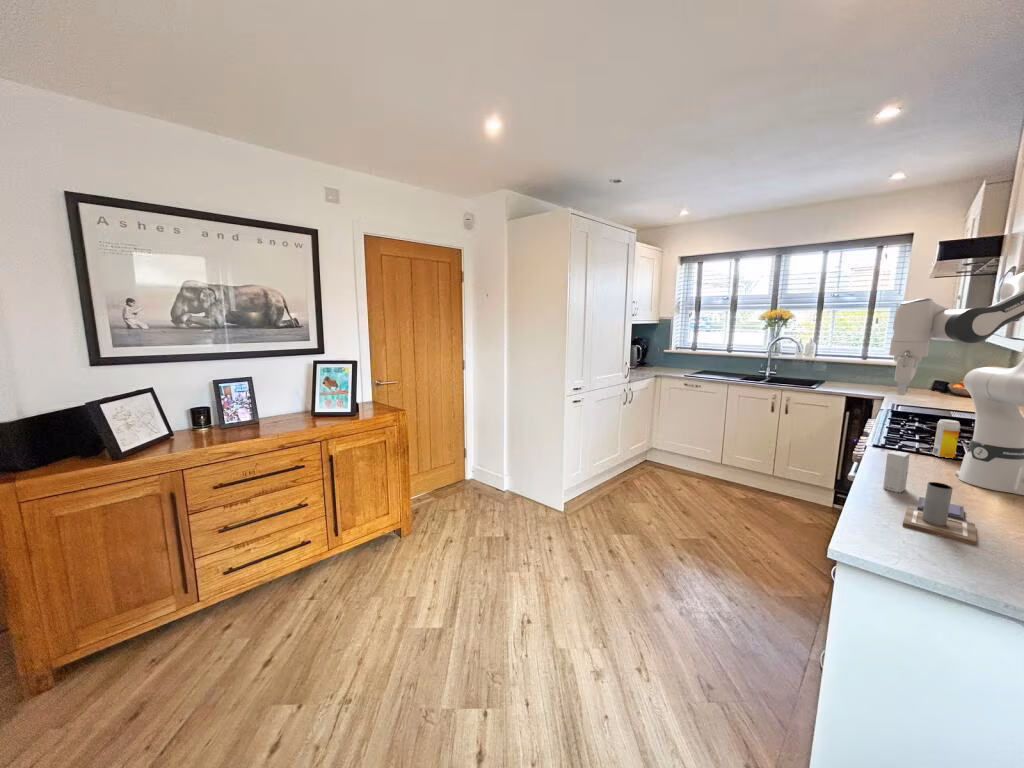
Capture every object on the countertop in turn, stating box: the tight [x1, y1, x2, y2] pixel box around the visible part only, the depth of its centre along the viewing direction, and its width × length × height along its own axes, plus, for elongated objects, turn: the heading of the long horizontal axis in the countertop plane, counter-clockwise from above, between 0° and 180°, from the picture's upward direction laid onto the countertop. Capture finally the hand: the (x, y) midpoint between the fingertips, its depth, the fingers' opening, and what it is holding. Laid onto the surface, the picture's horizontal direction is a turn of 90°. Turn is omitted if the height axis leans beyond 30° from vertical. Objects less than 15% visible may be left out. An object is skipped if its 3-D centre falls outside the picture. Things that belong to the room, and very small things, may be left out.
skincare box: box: [882, 450, 911, 493], centre depth 131 cm, size 6×4×12 cm
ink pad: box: [916, 496, 965, 521], centre depth 116 cm, size 10×9×2 cm
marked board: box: [902, 507, 978, 546], centre depth 107 cm, size 13×13×1 cm
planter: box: [922, 481, 954, 526], centre depth 107 cm, size 4×4×10 cm
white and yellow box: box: [932, 418, 961, 459], centre depth 161 cm, size 6×6×15 cm
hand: (902, 393), depth 131 cm, fingers open, 8 cm apart
